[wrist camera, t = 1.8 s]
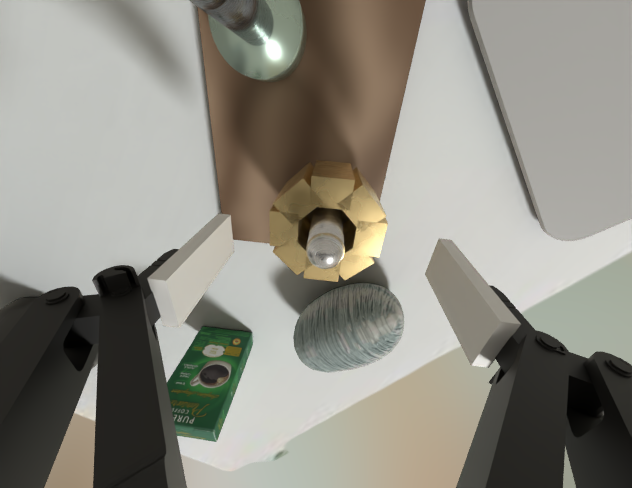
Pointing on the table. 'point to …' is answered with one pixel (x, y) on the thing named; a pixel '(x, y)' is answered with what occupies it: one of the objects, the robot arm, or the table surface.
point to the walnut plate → (311, 105)
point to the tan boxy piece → (336, 193)
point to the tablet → (565, 104)
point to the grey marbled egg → (349, 328)
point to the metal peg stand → (258, 35)
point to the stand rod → (326, 237)
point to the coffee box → (208, 381)
